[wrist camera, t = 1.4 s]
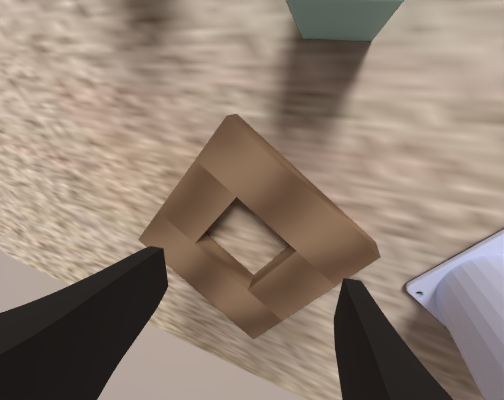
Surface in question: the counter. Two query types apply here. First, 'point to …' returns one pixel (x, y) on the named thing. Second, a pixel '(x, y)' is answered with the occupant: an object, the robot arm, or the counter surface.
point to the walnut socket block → (273, 214)
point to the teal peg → (342, 18)
